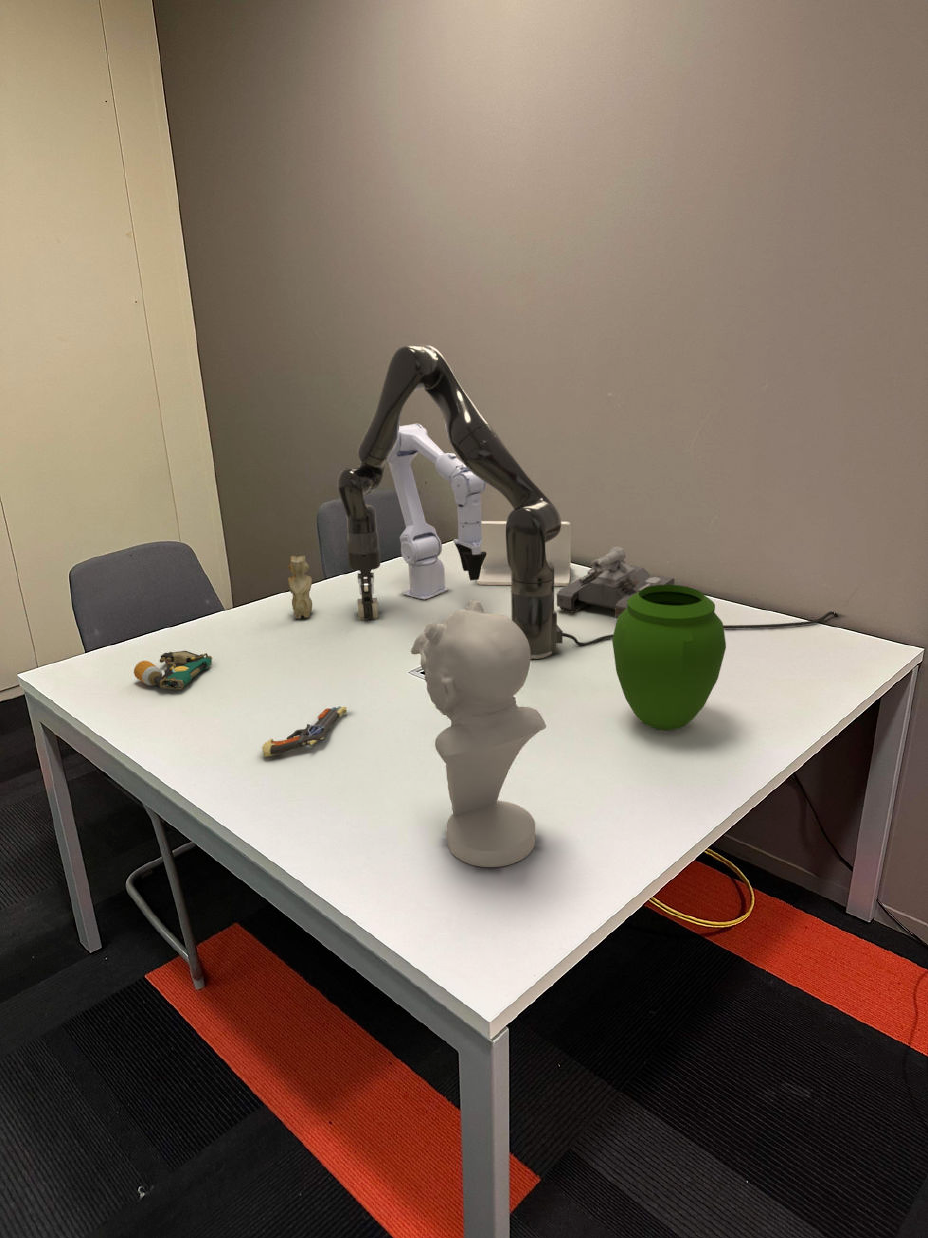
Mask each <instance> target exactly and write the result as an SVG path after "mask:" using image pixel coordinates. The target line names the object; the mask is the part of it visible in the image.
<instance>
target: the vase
mask: <svg viewBox="0 0 928 1238" xmlns="http://www.w3.org/2000/svg"><path fill="white" fill-rule="evenodd" d="M715 609H716V604H715V602H714V601H713V600H712V599H711V598H710V597H708V596H707V595H705V594H704V593H703V592H701V591H700V590H698V589H695V588H693V587H688V586H684V585H679V584H678V585H677V584H674V585H656V586H650V587H646V588H644V589H642V590H640V591H639V592H638V593H636V594H634V595H632V596H631V597H630V598H629V599H628V601H627V608H626V609H625V610H624V611H623V612H622V613H621V614H620V615H619V616H618V619H617V618H616V624H615V627H614V631H613V638H611V641H612V642H611V643H612V649H613V656H614V657H613V658H614V664H615V665H614V666H615V671H616V676H617V678H618V681H619V685H620V687H621V690H622V693H623V696H624V699H625V700H626V703H627V704H628V705H629V707H630V709H631V711H632V712H633V714H634V716H636V717H637V718H638V720H639V721H640V722H641V723H642V724H643V725H645V726H647V727H649V728H651V729H654V730H660V731H674V730H679V729H682V728H684V727H686V726H687V725H688V724H689V723H691V722H692V720H694V719H695V718H696V716H697V715H698V714H699V713H700V712H701V710H702V709H703V708H704V707H705V705H706V703H707V702H708V700H709V697H710V695H711V693H712V691H713V689H714V688H715V685H716V684H717V681H718V679H719V676H720V672H721V669H722V664H723V660H724V658H725V657H724V656H725V653H726V650H727V641H726V635H725V629H724V627H723V625H724V623H723V622H722V621H723V620H721V619H720V617H719V616H718V615H717V614H716V612H715Z"/></svg>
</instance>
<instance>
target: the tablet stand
mask: <svg viewBox="0 0 928 1238" xmlns="http://www.w3.org/2000/svg"><path fill="white" fill-rule="evenodd" d="M506 522H507V520H505V521H504V520H481V524H482V538H483V542H482V544H481V552H486V553H487V554H486V557H485V559H484V561H483V564H482V567H481V572H480V577H479V580H476V581H477V582H476V584H478V585H484V586H485V585H486V586H487V585H489V586H490V585H491V586H511V570H510V568H509V565H508V562H507V550H506ZM545 549H546V560H548V561H550V562H551V563H552V564H553V565H554V587H556V586H557V587H566V586H567V585H569V584H570V580H571V579H570V578H571V565H572V564H571V560H572V558H571V522H569V521H561V530H560V532H559V534H558V535H557V536H556V537H555V538H554V539H552V540H551V541H549V542H547V543H545Z"/></svg>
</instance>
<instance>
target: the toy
mask: <svg viewBox="0 0 928 1238" xmlns="http://www.w3.org/2000/svg"><path fill="white" fill-rule="evenodd" d="M626 557H627V556H626V551H625V549H624V548H622V547H621V546H614V547H612V548H611V549H610V550H609V552H608V553H607V554H605V555H604V556H601V557H599V558H598V559H597V557H596V558H594V559H593V560H592V561H590V562H589V563H590V564H591V565H592V567H591V568H590V569H589V570H587V573H586V575H584V576H582V577H580V578H578V579H577V580H575V581H573V582H570V583H569V585H567V586H563V587H562V588H560V589H559V590H558V591H557V592H556V607H558V608H559V609H560V610H562V611H566V612H572V613H575V612H577V611H579V610H581V609H582V608H585V607H586V606H588V605H592V606H598V607H602V608H603V607H604V608H609V609H613V610H614V618H615V619H616V620H617V619H618V616H619V615H620V614H621V613H622V612H623V611H624V610H625V609H626V608H627V601H628V599H629V598H630V597H631V596H632V595H634V594H636V593H638V592H639V591H640V590H642V589H644V588H646V587H650V586H656V585H675V580H676V579H675V578H673V577H668V576H663V575H656V576H655V577H654V576H651V574H650V573H649V572H648V571H647V570H646V568H644V567H641V566H635V565H629V564H628V563H627V562H626V561H625V559H626Z"/></svg>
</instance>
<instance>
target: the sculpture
mask: <svg viewBox="0 0 928 1238" xmlns="http://www.w3.org/2000/svg"><path fill="white" fill-rule="evenodd" d="M309 568H310V567H309V564H308V563H307V562H306V555H303V554H302V555H300V556H295V555H291V556H290V564H288V565H287V569H288V570H289V571H290V572H291V573H292V576H290V577H288V578H287V583H288V587H289V593H291V594H292V599H291V607H292V610H293V614H294V617H295V619H301V618H302V616H303V617H304V618H306V619H307V618H310V616H311V613H312V612H313V600H312V599H311V596H310V591H311V589H312V585H313V580H312V577H311V576H310V575H308V574H307V575H306V572H308V571H309V570H310V569H309Z"/></svg>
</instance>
